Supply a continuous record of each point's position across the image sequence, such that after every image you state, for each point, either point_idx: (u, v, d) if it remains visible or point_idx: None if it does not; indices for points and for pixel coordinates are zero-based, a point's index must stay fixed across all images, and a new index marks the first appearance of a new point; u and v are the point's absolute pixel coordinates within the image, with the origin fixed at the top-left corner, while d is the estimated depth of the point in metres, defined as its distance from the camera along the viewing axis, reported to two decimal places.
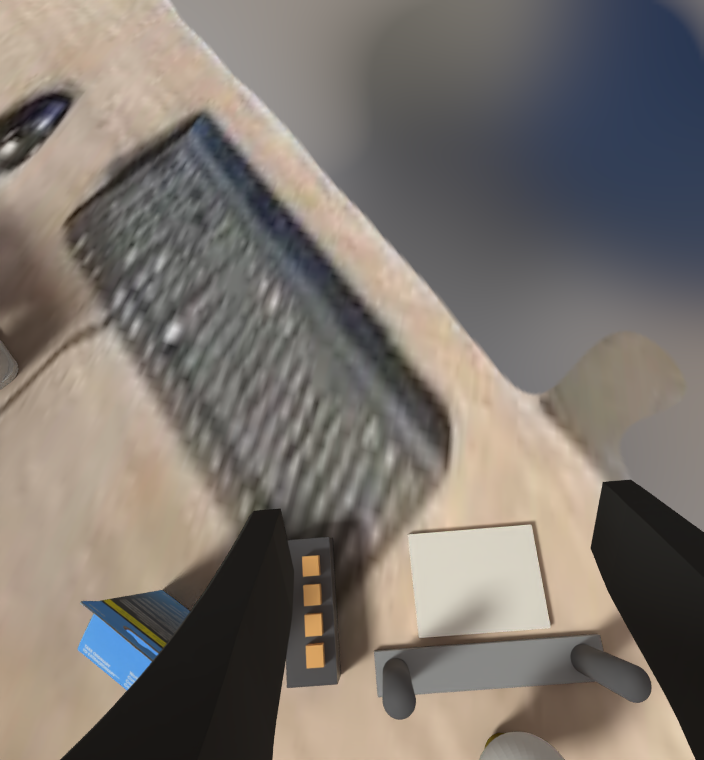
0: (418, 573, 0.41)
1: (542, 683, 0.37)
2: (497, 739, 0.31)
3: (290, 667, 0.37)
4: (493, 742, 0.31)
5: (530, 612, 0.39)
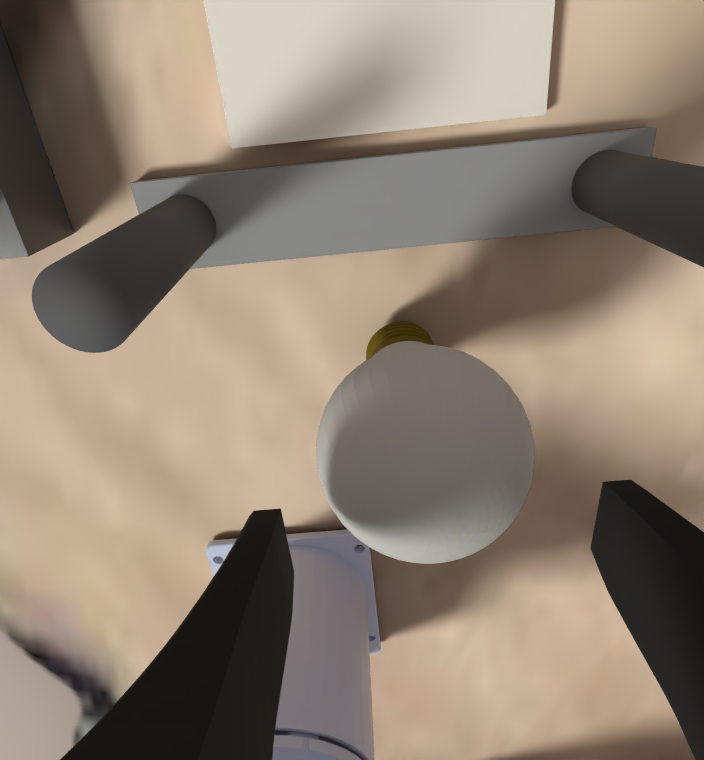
0: None
1: (498, 234, 0.18)
2: (370, 367, 0.13)
3: None
4: (361, 372, 0.13)
5: (506, 76, 0.15)
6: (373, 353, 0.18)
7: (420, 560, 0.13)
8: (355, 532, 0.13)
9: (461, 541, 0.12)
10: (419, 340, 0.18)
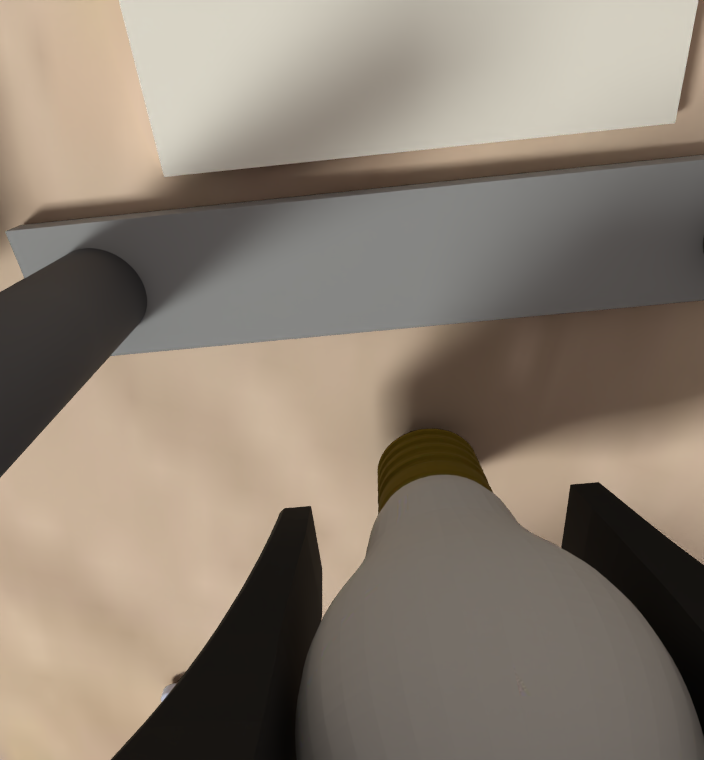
0: None
1: (582, 306, 0.12)
2: (396, 605, 0.07)
3: None
4: (377, 613, 0.07)
5: (616, 59, 0.09)
6: (390, 487, 0.12)
7: None
8: None
9: None
10: (461, 470, 0.11)
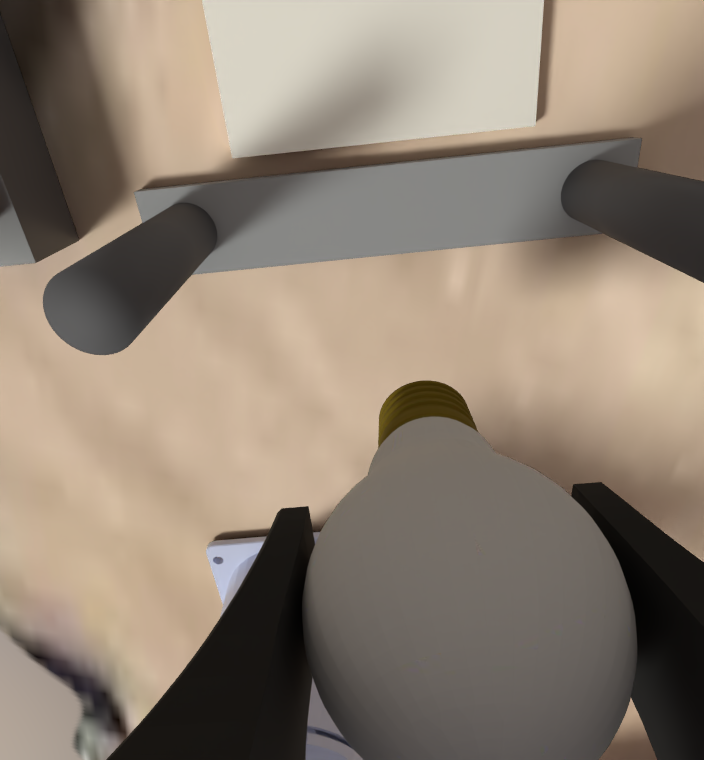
0: None
1: (490, 241, 0.18)
2: (385, 498, 0.09)
3: None
4: (370, 505, 0.09)
5: (497, 89, 0.16)
6: (388, 428, 0.13)
7: None
8: (357, 752, 0.08)
9: None
10: (451, 414, 0.13)
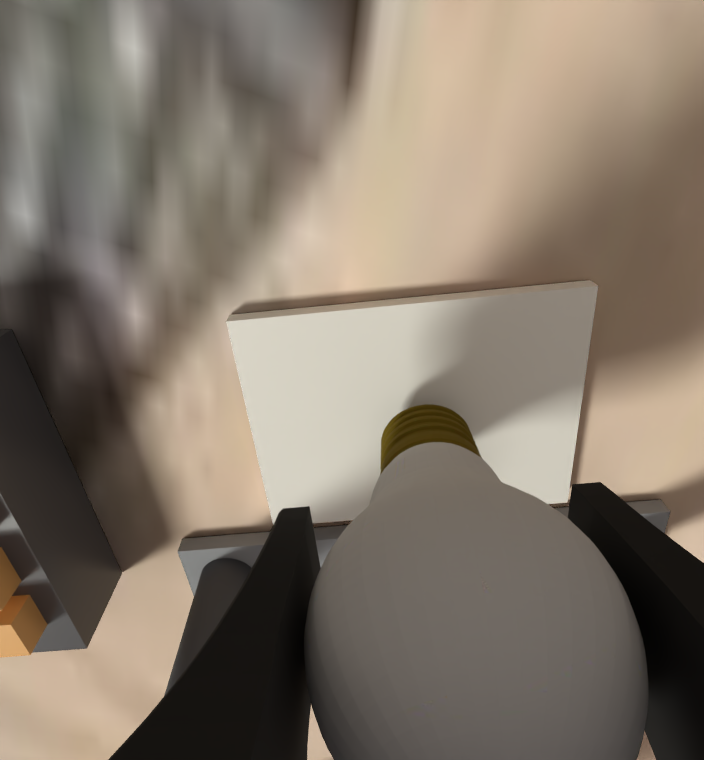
0: (264, 413, 0.15)
1: None
2: (388, 531, 0.08)
3: None
4: (373, 538, 0.08)
5: (531, 478, 0.17)
6: (390, 454, 0.13)
7: None
8: None
9: None
10: (454, 439, 0.13)
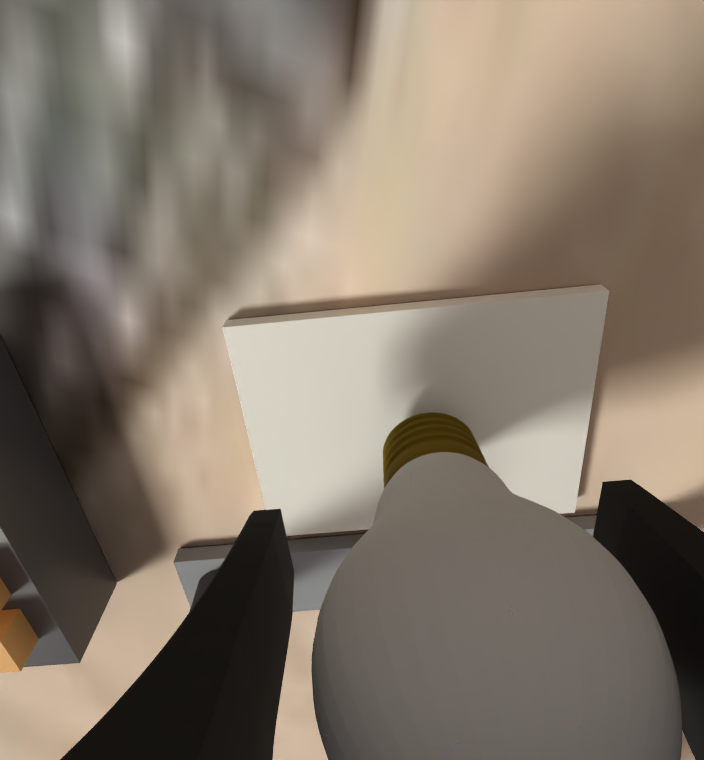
0: (262, 421, 0.15)
1: None
2: (402, 552, 0.08)
3: None
4: (386, 559, 0.08)
5: (538, 488, 0.16)
6: (395, 465, 0.13)
7: None
8: None
9: None
10: (461, 449, 0.12)
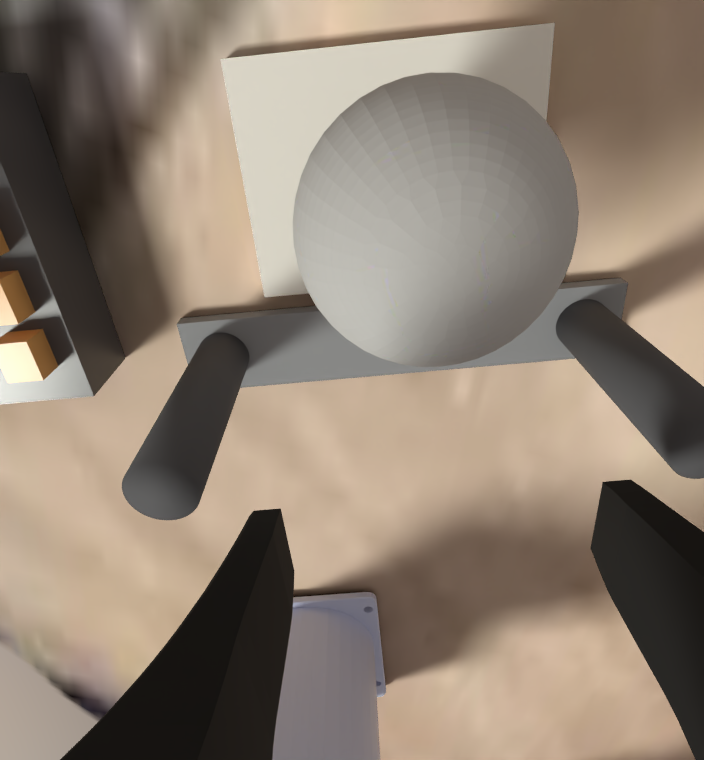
0: (255, 164, 0.17)
1: (492, 363, 0.20)
2: (363, 96, 0.10)
3: None
4: None
5: None
6: None
7: (428, 341, 0.09)
8: (342, 310, 0.10)
9: (484, 298, 0.09)
10: None
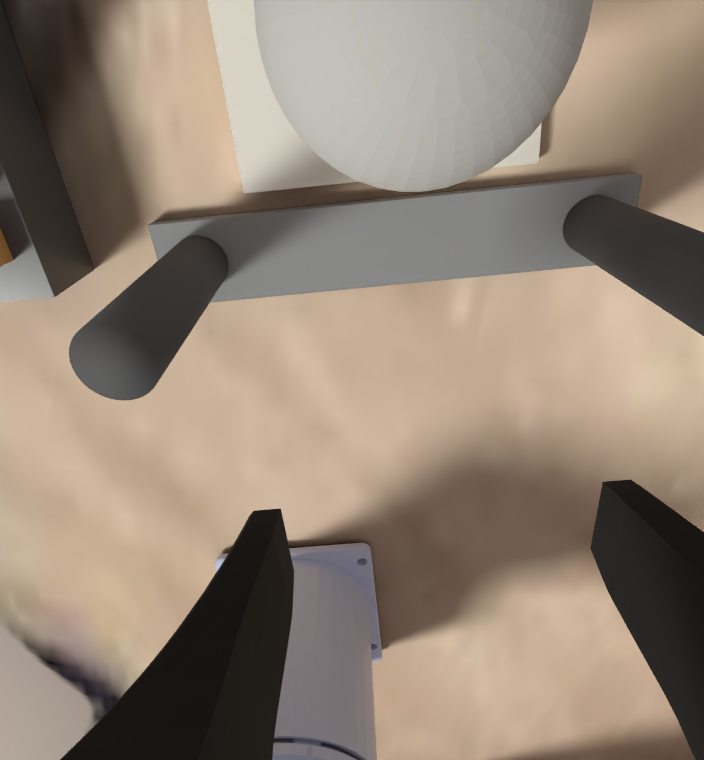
0: (230, 30, 0.15)
1: (494, 271, 0.19)
2: None
3: None
4: None
5: None
6: None
7: (412, 111, 0.08)
8: (309, 82, 0.08)
9: (481, 35, 0.07)
10: None
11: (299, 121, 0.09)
